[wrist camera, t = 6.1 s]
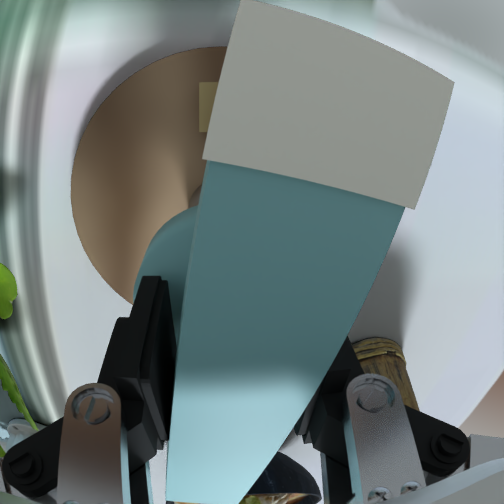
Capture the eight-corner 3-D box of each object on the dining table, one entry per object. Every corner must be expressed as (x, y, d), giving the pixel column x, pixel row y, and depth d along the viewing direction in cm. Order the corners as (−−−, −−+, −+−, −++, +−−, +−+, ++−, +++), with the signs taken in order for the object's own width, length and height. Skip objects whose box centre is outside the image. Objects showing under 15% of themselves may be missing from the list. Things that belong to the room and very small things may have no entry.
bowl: (158, 466, 35) (156, 529, 27) (184, 405, 28) (182, 498, 20) (272, 477, 40) (282, 533, 31) (333, 421, 33) (355, 495, 24)
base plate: (106, 320, 23) (78, 403, 16) (67, 66, 14) (-16, 65, 7) (340, 312, 24) (377, 392, 17) (375, 64, 16) (462, 63, 9)
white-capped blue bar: (259, 392, 15) (277, 504, 10) (139, 379, 14) (123, 496, 9) (363, 93, 9) (512, 122, 4) (177, 46, 8) (114, -14, 2)
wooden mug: (348, 292, 24) (459, 518, 8) (413, 360, 29) (487, 505, 13) (261, 357, 26) (300, 574, 10) (345, 407, 31) (392, 552, 16)
